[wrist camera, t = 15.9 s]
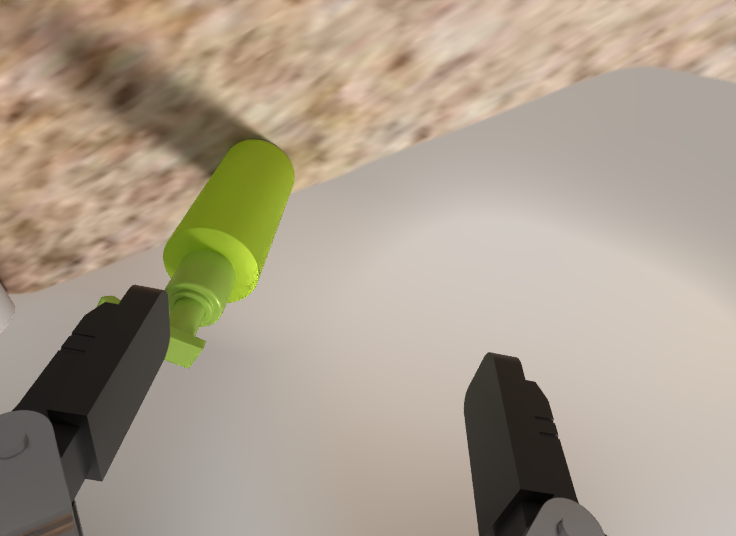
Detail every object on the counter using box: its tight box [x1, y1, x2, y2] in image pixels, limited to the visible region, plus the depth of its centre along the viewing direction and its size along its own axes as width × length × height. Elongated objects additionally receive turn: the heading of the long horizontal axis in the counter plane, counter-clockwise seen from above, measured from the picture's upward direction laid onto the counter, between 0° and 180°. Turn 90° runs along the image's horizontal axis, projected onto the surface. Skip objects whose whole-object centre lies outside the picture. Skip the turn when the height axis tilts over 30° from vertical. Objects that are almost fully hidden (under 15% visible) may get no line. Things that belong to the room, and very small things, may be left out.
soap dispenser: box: [96, 139, 294, 368], centre depth 33 cm, size 6×7×20 cm
